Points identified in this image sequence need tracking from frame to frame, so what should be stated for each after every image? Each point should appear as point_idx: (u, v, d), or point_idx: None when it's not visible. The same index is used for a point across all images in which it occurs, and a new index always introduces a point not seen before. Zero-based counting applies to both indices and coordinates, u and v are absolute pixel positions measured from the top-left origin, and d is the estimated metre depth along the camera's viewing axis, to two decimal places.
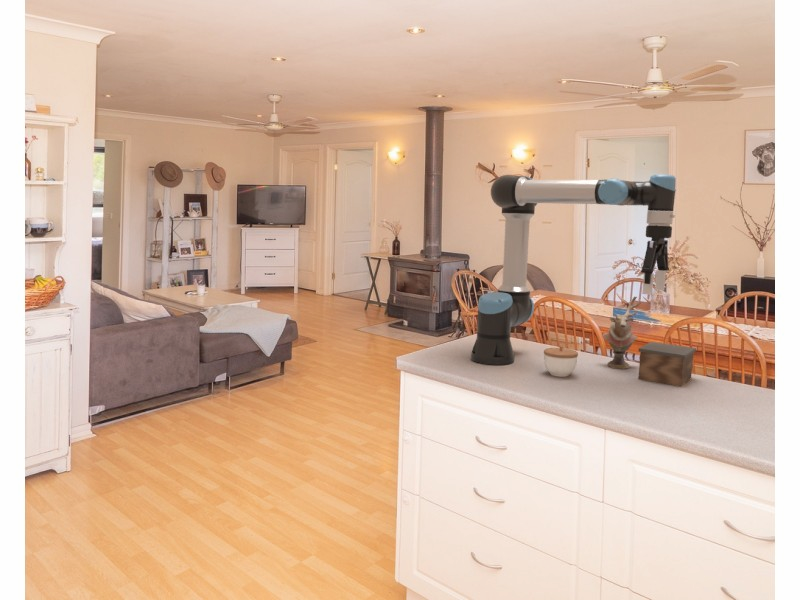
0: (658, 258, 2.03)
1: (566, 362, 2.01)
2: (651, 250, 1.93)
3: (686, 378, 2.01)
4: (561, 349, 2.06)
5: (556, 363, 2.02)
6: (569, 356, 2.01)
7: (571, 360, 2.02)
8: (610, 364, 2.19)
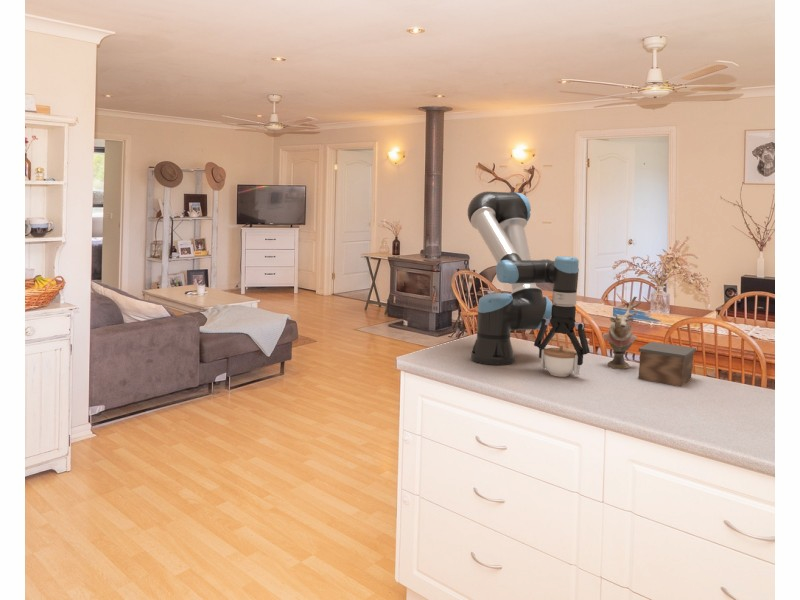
0: None
1: (567, 362, 2.01)
2: None
3: (686, 378, 2.01)
4: (561, 349, 2.06)
5: (556, 363, 2.02)
6: (569, 356, 2.01)
7: (571, 360, 2.02)
8: (610, 364, 2.19)
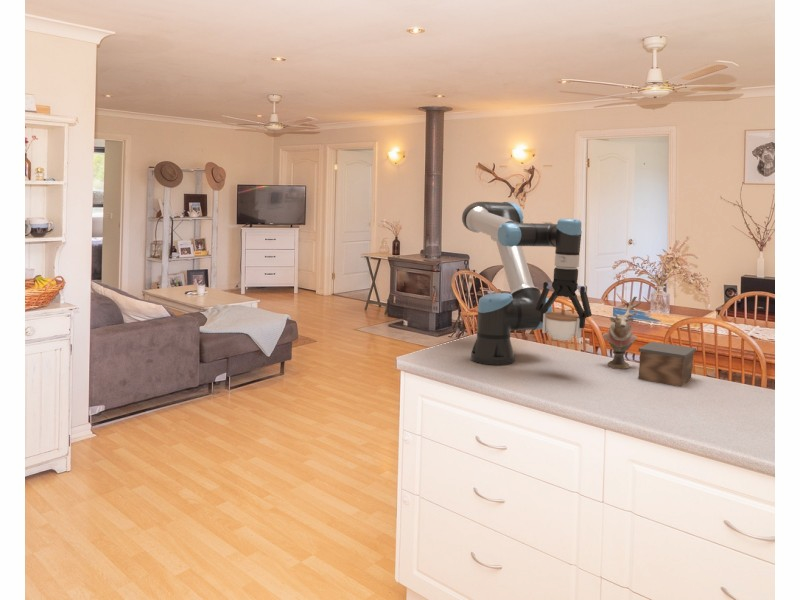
0: None
1: (568, 326, 2.00)
2: None
3: (686, 378, 2.01)
4: (563, 313, 2.04)
5: (558, 326, 2.01)
6: (571, 319, 2.00)
7: (573, 323, 2.00)
8: (610, 364, 2.19)
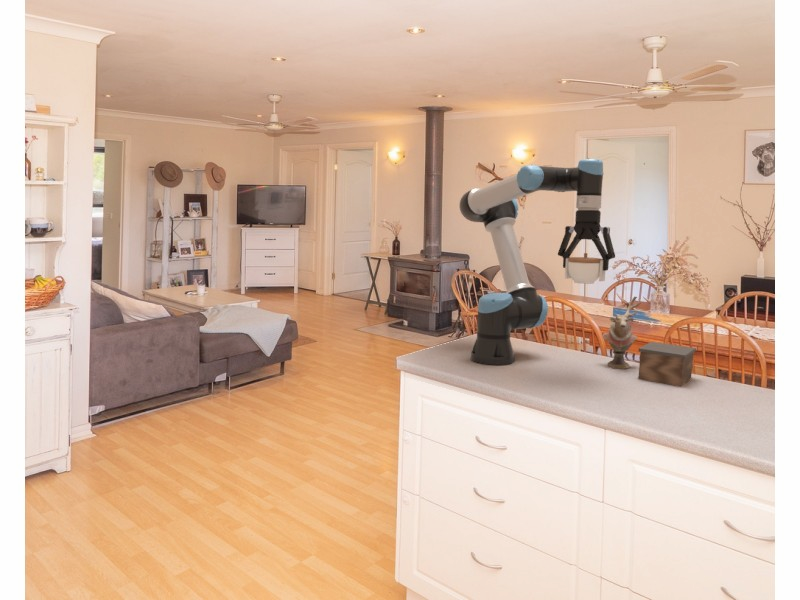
0: None
1: (591, 267, 1.96)
2: None
3: (686, 378, 2.01)
4: (586, 256, 2.00)
5: (580, 268, 1.97)
6: (594, 261, 1.96)
7: (596, 265, 1.96)
8: (610, 364, 2.19)
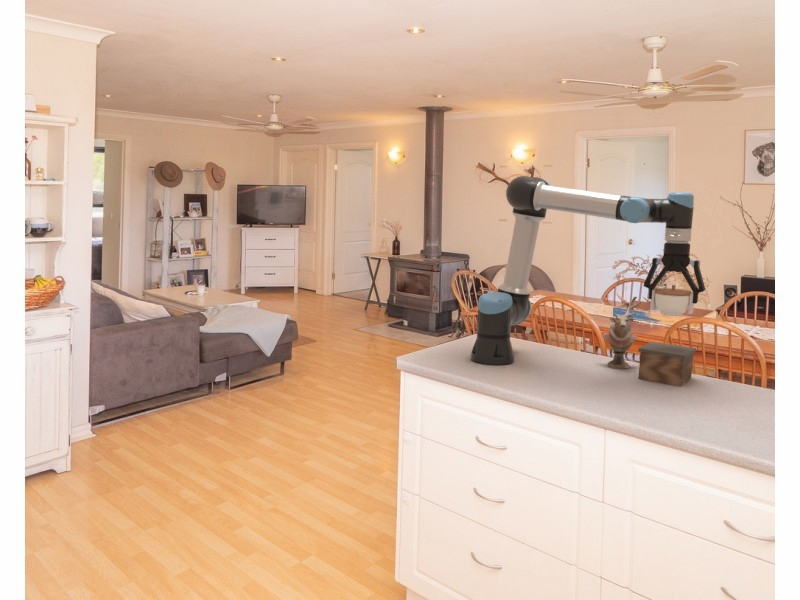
0: None
1: (682, 300, 1.96)
2: None
3: (686, 378, 2.01)
4: (674, 288, 2.01)
5: (671, 301, 1.97)
6: (684, 294, 1.96)
7: (686, 298, 1.97)
8: (610, 364, 2.19)
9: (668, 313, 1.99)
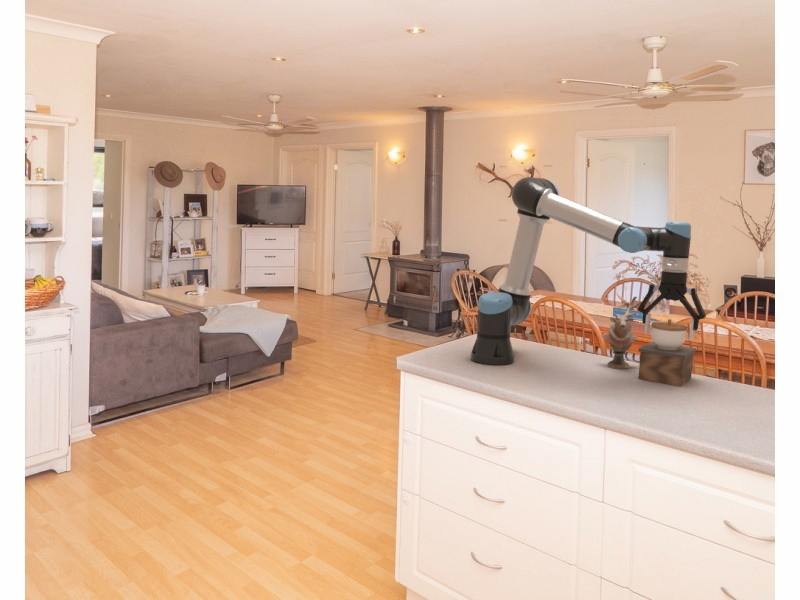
0: None
1: (678, 335, 1.98)
2: None
3: (686, 378, 2.01)
4: (670, 322, 2.02)
5: (666, 336, 1.99)
6: (680, 329, 1.98)
7: (682, 333, 1.99)
8: (610, 364, 2.19)
9: (664, 347, 2.01)
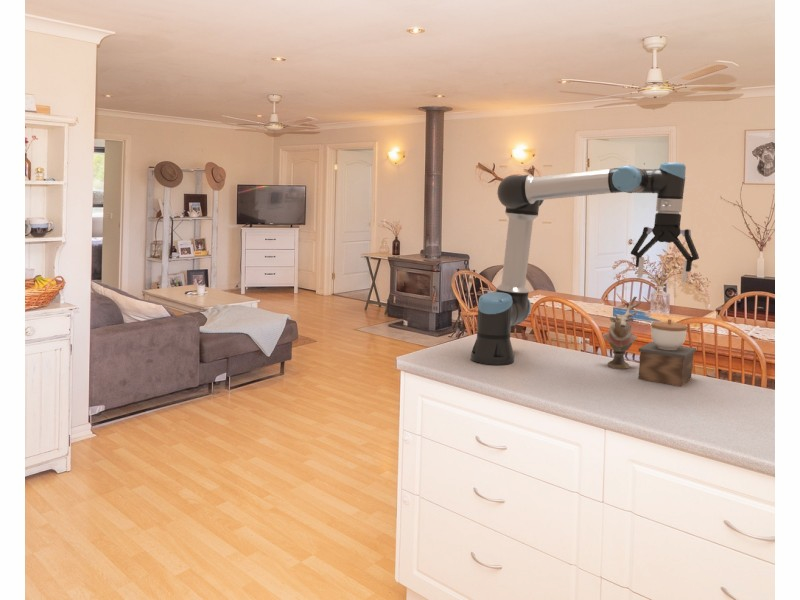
0: None
1: (678, 335, 1.98)
2: None
3: (686, 378, 2.01)
4: (670, 322, 2.02)
5: (667, 336, 1.99)
6: (680, 329, 1.98)
7: (682, 333, 1.99)
8: (610, 364, 2.19)
9: (664, 347, 2.01)
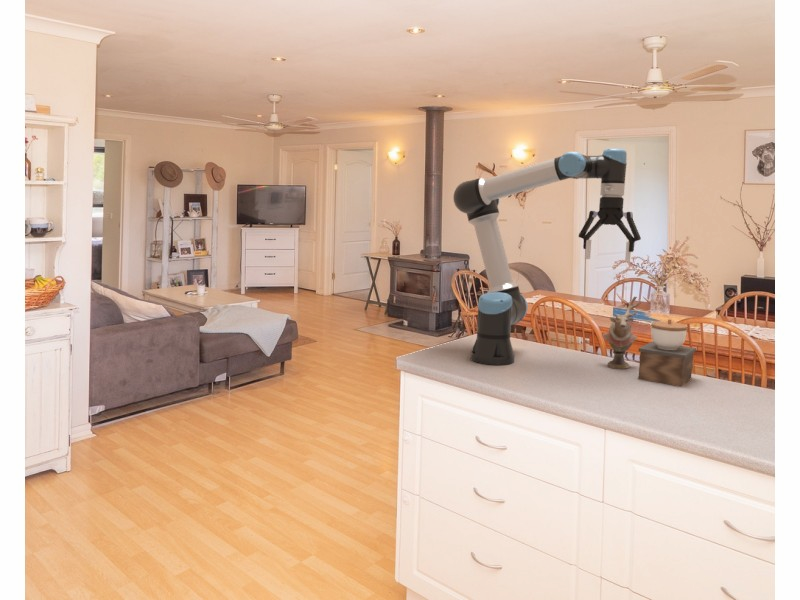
0: None
1: (678, 335, 1.98)
2: None
3: (686, 378, 2.01)
4: (670, 322, 2.02)
5: (667, 336, 1.99)
6: (680, 329, 1.98)
7: (682, 333, 1.99)
8: (610, 364, 2.19)
9: (664, 347, 2.01)
